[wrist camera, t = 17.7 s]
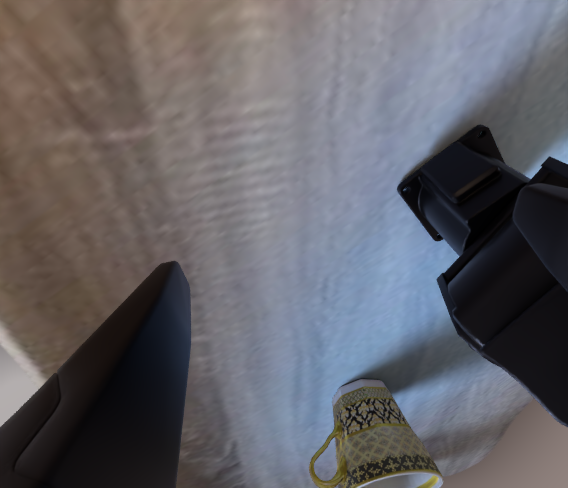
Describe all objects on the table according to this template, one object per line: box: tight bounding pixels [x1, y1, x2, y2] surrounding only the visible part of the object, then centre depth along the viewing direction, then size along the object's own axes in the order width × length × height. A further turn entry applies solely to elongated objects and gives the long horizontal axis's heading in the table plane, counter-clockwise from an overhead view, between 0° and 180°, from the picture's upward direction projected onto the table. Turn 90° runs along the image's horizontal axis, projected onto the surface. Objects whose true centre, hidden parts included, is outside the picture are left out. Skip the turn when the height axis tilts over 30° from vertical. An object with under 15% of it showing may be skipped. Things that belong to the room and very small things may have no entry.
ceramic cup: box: [309, 379, 443, 488], centre depth 35 cm, size 13×10×10 cm
